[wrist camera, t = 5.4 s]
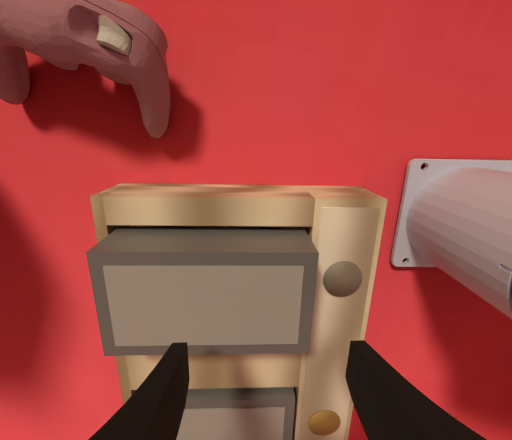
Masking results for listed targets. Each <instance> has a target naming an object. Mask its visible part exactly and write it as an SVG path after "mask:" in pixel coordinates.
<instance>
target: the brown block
mask: <svg viewBox="0 0 512 440" xmlns="http://www.w3.org/2000/svg"><path fill="white" fill-rule="evenodd" d="M294 410H295V394H294V389H293V387H268V388H214V389H188V393H187V399H186V405H185V409H184V413H183V416H182V420H181V424H180V428H179V431H178V435H177V439H176V440H292V435H293V422H294Z"/></svg>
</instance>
